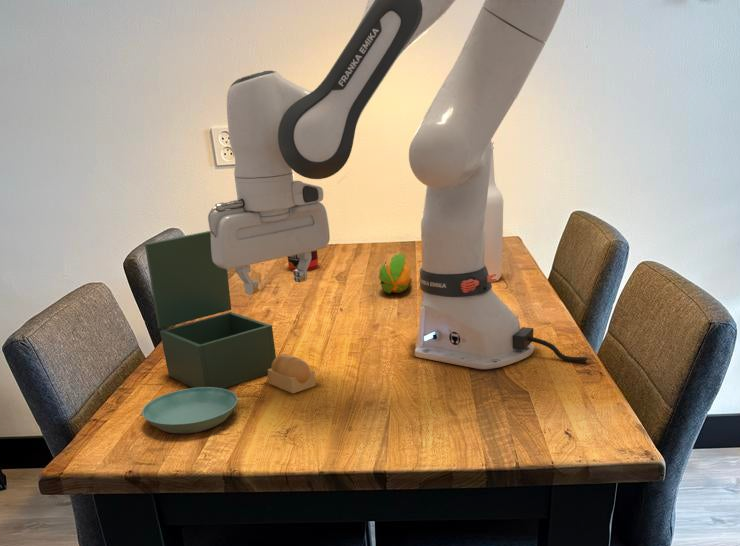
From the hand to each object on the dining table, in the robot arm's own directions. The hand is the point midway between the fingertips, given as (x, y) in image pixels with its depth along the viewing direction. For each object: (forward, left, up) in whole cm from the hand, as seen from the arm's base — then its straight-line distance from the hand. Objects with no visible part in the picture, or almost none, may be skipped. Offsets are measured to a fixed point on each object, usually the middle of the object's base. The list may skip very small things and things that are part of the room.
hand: (277, 287), depth 125 cm
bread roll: (-1, 0, -16) cm, 16 cm away
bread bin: (+14, +5, -16) cm, 22 cm away
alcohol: (+22, -73, -17) cm, 78 cm away
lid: (+20, +5, -1) cm, 20 cm away
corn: (+33, -55, -17) cm, 66 cm away
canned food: (+69, -54, -17) cm, 89 cm away
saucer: (-1, +19, -17) cm, 25 cm away
